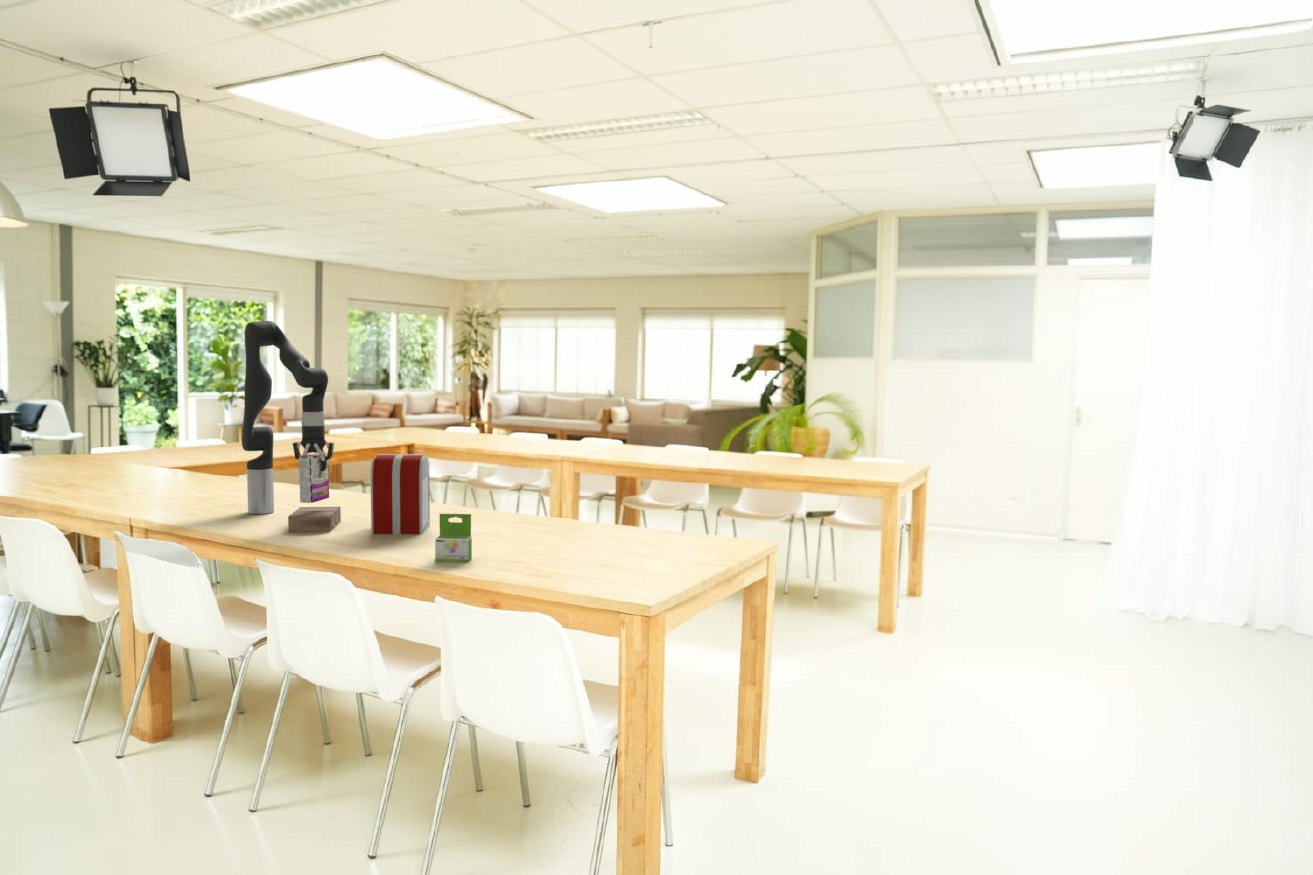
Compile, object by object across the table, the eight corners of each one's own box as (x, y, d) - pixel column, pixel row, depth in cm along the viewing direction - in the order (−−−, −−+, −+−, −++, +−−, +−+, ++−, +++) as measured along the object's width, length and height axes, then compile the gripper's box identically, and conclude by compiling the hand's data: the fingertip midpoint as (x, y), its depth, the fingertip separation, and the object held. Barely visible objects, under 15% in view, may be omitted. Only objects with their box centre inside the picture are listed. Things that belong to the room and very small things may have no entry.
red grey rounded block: (381, 524, 318) (380, 451, 315) (430, 524, 319) (429, 452, 317) (370, 534, 301) (369, 457, 299) (422, 534, 303) (421, 457, 300)
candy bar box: (317, 497, 317) (316, 452, 315) (329, 498, 316) (329, 453, 314) (298, 502, 306) (298, 456, 304) (311, 503, 305) (310, 456, 303)
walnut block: (300, 523, 320) (300, 507, 319) (340, 522, 322) (340, 506, 321) (288, 533, 302) (288, 516, 301) (330, 532, 304) (330, 515, 304)
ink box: (434, 561, 265) (434, 516, 263) (438, 557, 270) (438, 513, 269) (468, 562, 265) (468, 517, 263) (472, 558, 270) (471, 513, 269)
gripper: (336, 423, 313) (337, 469, 314) (295, 423, 311) (296, 469, 313) (331, 425, 305) (332, 472, 307) (288, 424, 304) (289, 472, 305)
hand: (314, 470), depth 310 cm, fingers closed on candy bar box, 6 cm apart
